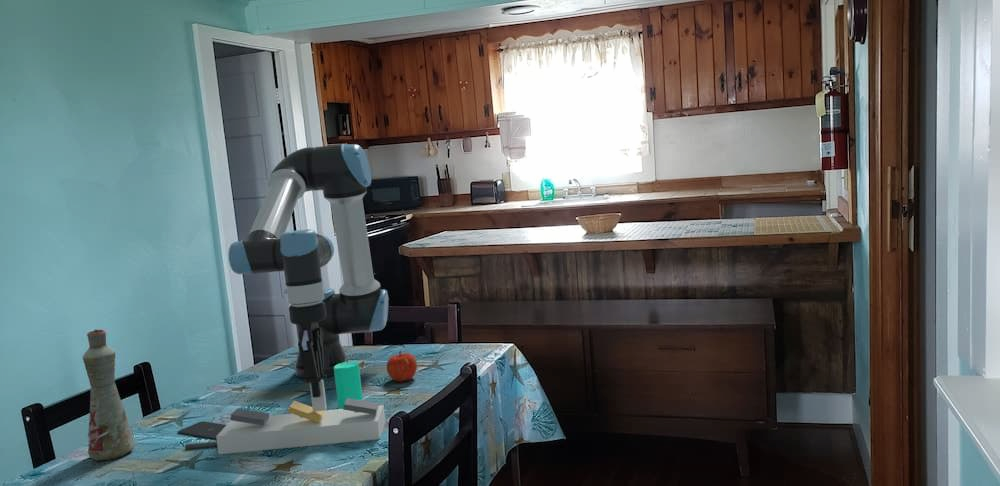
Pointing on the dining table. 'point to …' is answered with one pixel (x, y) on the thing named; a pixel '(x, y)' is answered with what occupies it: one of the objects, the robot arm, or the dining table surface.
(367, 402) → the block
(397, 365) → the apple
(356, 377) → the candle
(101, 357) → the bottle
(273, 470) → the dining table surface
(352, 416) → the power strip
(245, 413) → the block
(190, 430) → the smartphone
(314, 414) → the rocker
